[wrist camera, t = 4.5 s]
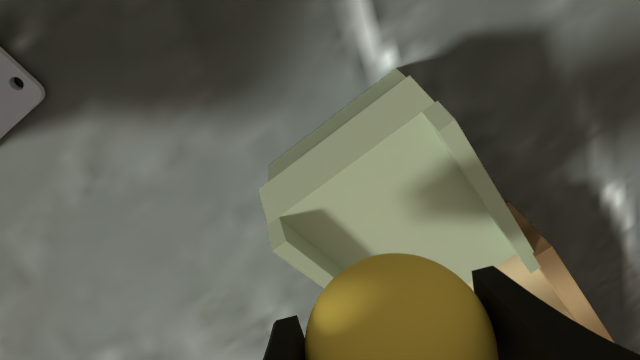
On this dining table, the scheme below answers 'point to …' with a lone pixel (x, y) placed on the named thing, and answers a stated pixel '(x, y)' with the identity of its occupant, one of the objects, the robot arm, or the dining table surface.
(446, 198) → the ramp
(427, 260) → the ball
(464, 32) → the dining table surface
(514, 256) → the lane
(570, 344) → the robot arm
